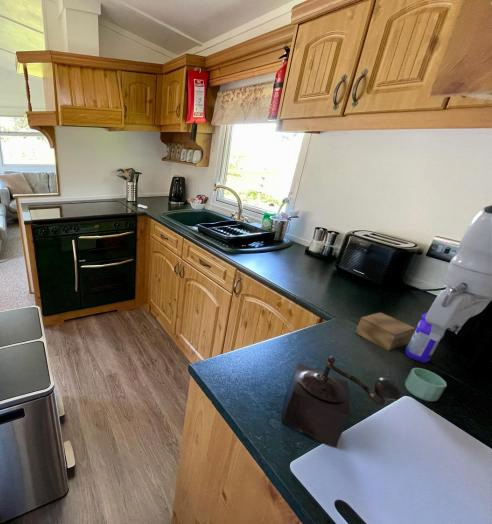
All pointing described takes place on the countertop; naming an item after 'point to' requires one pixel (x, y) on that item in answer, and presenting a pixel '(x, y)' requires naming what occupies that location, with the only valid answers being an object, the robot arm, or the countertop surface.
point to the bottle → (421, 342)
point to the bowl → (425, 384)
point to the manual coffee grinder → (326, 401)
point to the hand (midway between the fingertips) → (443, 334)
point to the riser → (384, 330)
